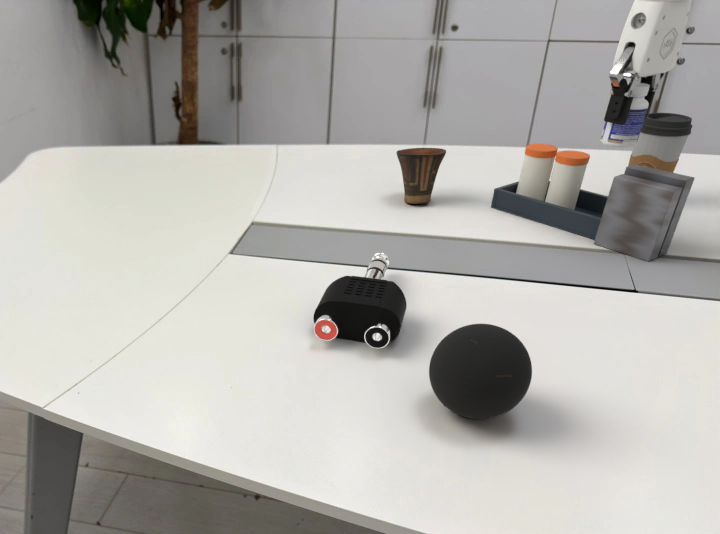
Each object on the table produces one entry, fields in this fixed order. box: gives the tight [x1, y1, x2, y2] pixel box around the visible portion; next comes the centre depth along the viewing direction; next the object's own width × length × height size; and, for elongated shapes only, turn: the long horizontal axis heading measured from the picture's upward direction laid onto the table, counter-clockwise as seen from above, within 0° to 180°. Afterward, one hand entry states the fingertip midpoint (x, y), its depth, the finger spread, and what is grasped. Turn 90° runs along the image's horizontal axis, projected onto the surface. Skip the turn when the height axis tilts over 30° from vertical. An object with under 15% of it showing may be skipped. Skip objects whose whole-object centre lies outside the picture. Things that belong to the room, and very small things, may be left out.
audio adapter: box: [313, 252, 407, 350], centre depth 92 cm, size 11×5×25 cm
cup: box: [396, 147, 447, 205], centre depth 127 cm, size 9×9×10 cm
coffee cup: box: [627, 112, 693, 173], centre depth 122 cm, size 8×8×15 cm
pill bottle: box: [599, 81, 650, 148], centre depth 106 cm, size 5×5×9 cm
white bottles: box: [516, 143, 591, 210], centre depth 120 cm, size 11×5×10 cm, turn 33°
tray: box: [490, 180, 608, 241], centre depth 120 cm, size 22×12×4 cm, turn 33°
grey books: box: [593, 164, 696, 262], centre depth 105 cm, size 9×5×12 cm, turn 33°
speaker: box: [428, 323, 533, 420], centre depth 70 cm, size 10×10×10 cm
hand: (625, 118), depth 106 cm, fingers closed on pill bottle, 5 cm apart
